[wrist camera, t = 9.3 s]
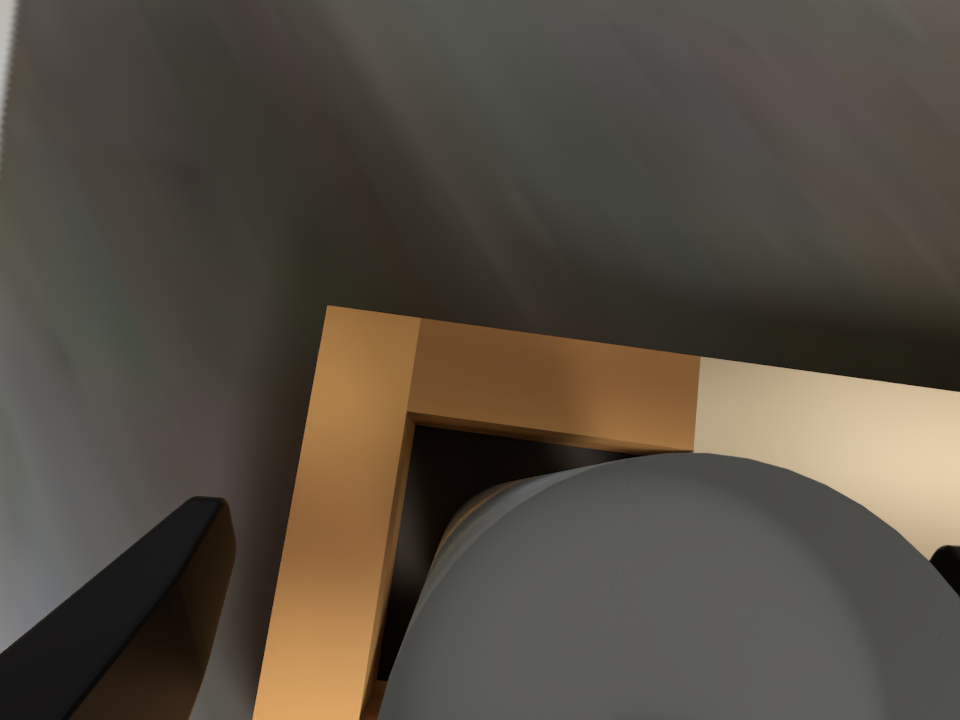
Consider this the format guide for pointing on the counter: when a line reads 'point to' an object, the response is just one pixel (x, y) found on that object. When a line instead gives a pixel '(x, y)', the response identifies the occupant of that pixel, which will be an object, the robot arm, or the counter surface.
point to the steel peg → (676, 603)
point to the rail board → (559, 420)
